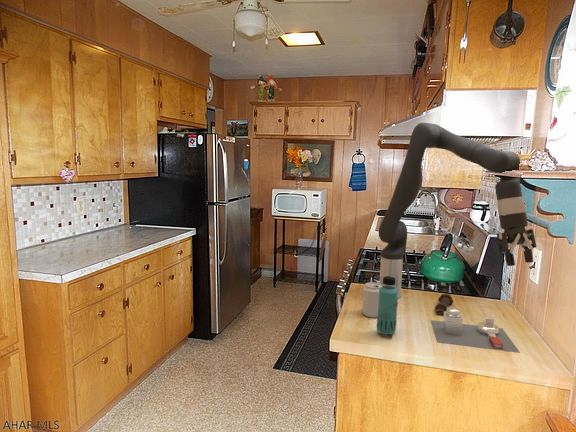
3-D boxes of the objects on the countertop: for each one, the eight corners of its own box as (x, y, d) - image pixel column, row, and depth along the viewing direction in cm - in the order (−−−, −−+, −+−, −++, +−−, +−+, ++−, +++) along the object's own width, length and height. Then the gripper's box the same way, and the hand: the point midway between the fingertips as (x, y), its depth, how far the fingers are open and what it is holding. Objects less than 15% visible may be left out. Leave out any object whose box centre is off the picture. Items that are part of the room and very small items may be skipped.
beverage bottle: (376, 337, 125) (380, 279, 123) (375, 329, 132) (378, 273, 129) (397, 339, 125) (401, 281, 122) (394, 330, 131) (397, 275, 128)
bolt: (436, 321, 144) (443, 307, 157) (449, 318, 142) (455, 304, 154) (429, 307, 145) (437, 295, 158) (442, 303, 142) (448, 291, 155)
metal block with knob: (445, 333, 128) (447, 311, 127) (442, 327, 133) (444, 305, 132) (461, 335, 127) (463, 312, 126) (458, 329, 132) (460, 307, 130)
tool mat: (437, 344, 122) (437, 342, 122) (430, 322, 139) (430, 320, 139) (520, 355, 116) (520, 352, 116) (502, 330, 133) (502, 328, 133)
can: (380, 319, 140) (382, 288, 138) (360, 316, 143) (362, 286, 141) (382, 312, 147) (384, 282, 145) (363, 309, 150) (364, 280, 148)
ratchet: (486, 347, 119) (488, 331, 118) (475, 327, 134) (476, 313, 133) (509, 350, 118) (511, 334, 117) (495, 329, 132) (496, 315, 131)
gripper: (516, 212, 126) (524, 261, 125) (485, 215, 120) (493, 266, 119) (538, 209, 119) (547, 261, 118) (507, 212, 114) (516, 266, 112)
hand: (520, 264), depth 118 cm, fingers open, 8 cm apart
